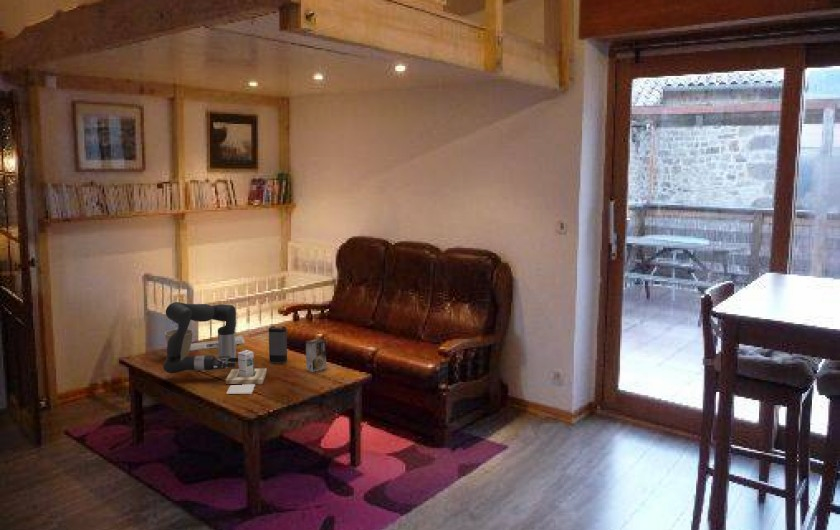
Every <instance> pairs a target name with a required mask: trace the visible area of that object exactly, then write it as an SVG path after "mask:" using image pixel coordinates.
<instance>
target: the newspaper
mask: <svg viewBox="0 0 840 530" xmlns="http://www.w3.org/2000/svg"><path fill="white" fill-rule="evenodd" d="M237 344H243V345H245V338H244V337H243V335H242V334H241V335H237V336H236V335H235V345H236V346H238V345H237ZM216 347H218V339H217V340H211V341H201V342H195V343H191V347H190V351H191V352H196V351H195V350H198V351H203V350H202V349H206V350H210V349H209V348H213V349H217V348H216Z"/></svg>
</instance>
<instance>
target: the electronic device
mask: <svg viewBox="0 0 840 530" xmlns="http://www.w3.org/2000/svg"><path fill="white" fill-rule="evenodd" d="M287 333H288V332H287V327H286V326H281V327H276V326H274V325H273V326H270V327H268V356H269V358H268V359H269V360H268V361H269V364H279V363H284V364H286V363H287V362H288V343H287V342H288V339H287V338H288V335H287Z"/></svg>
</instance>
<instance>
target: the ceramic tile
mask: <svg viewBox="0 0 840 530" xmlns="http://www.w3.org/2000/svg"><path fill="white" fill-rule="evenodd" d="M254 387H255V388H256V384H242V385H229V387H228V389H227V391H226V394H250V395H252V394H253V392H254V390H255V388H254ZM226 394H225V395H226Z"/></svg>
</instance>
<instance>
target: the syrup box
mask: <svg viewBox="0 0 840 530" xmlns="http://www.w3.org/2000/svg"><path fill="white" fill-rule="evenodd" d="M237 358H238V362H237V363H238V369H239V377H254V376H255V371H254V369H255V353H254V351H252V350H247V349H245V350H243V351H240V352H237Z"/></svg>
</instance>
